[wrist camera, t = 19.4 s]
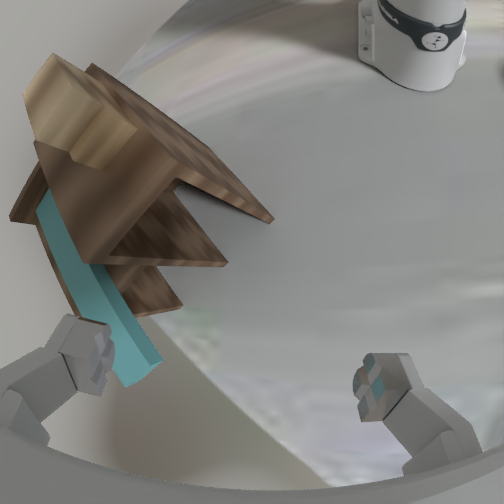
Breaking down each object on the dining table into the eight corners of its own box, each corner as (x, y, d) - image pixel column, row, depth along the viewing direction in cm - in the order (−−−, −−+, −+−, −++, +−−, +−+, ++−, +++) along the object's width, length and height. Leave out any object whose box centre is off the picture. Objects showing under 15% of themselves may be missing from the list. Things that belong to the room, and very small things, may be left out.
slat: (163, 359, 25) (150, 365, 23) (138, 381, 25) (125, 387, 23) (64, 187, 30) (51, 184, 28) (48, 212, 31) (35, 210, 29)
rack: (274, 219, 43) (105, 121, 13) (179, 309, 47) (-17, 342, 17) (208, 147, 47) (49, 35, 16) (128, 233, 51) (-46, 207, 20)
